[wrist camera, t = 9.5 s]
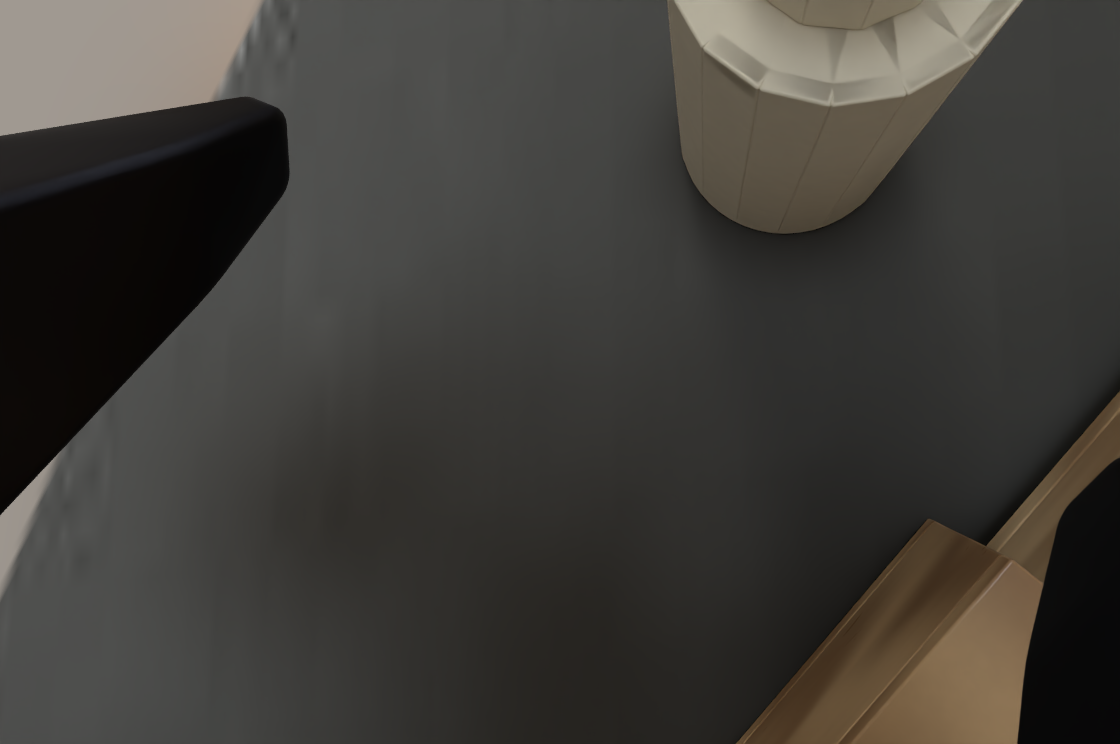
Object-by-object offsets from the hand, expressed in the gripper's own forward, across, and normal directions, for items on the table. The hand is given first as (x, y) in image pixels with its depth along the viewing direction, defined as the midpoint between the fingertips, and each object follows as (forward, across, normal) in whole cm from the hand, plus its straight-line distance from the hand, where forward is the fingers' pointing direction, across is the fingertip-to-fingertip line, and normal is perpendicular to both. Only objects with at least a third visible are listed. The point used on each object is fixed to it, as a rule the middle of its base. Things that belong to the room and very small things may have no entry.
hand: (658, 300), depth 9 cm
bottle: (+13, 0, +4) cm, 13 cm away
